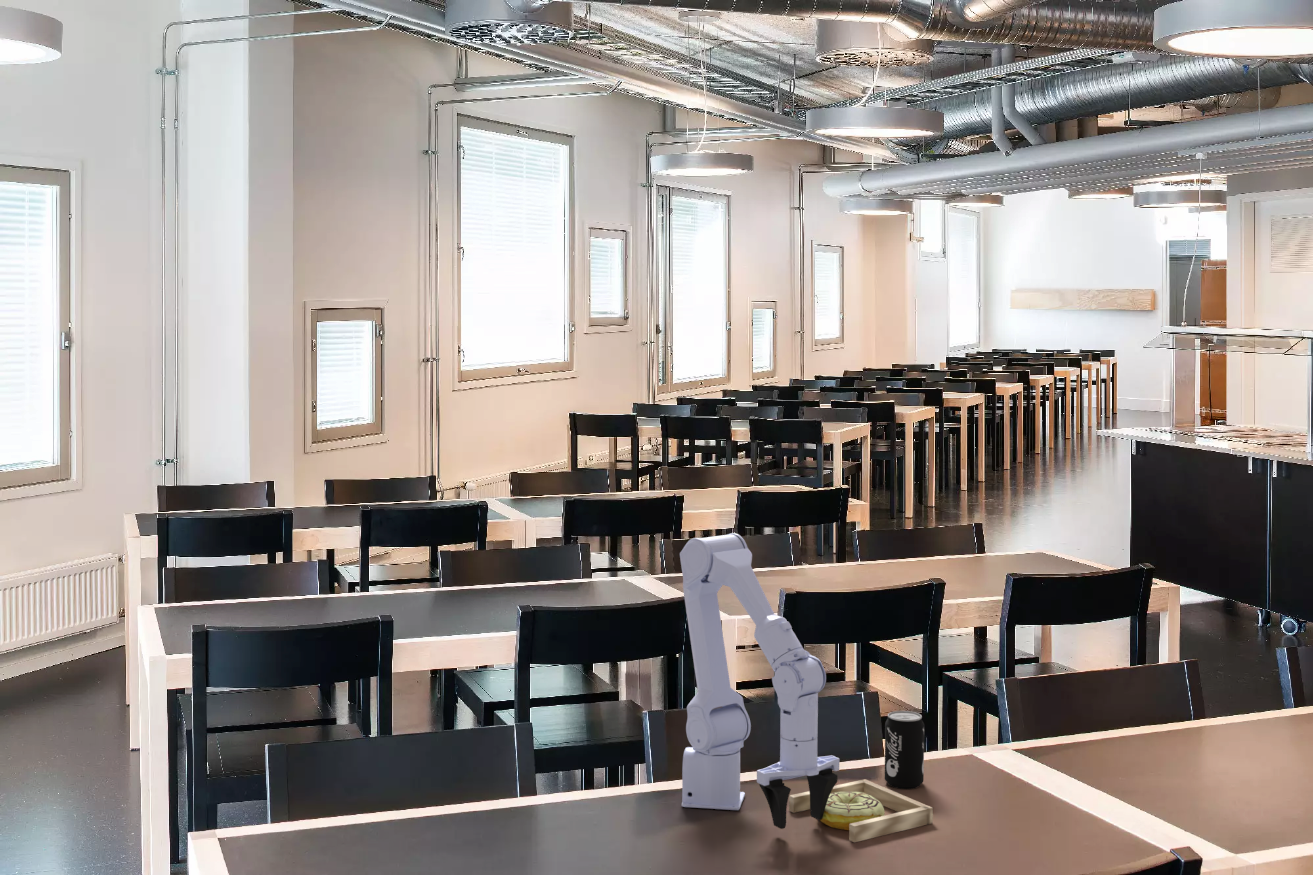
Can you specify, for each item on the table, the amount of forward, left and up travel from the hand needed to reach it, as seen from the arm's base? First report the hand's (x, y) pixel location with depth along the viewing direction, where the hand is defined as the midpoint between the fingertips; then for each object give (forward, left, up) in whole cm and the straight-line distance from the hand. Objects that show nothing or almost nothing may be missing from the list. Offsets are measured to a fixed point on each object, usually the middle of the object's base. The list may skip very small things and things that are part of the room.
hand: (798, 822), depth 212 cm
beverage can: (+16, +26, -2) cm, 31 cm away
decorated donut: (+7, +6, -2) cm, 10 cm away
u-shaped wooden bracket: (+9, +8, -1) cm, 12 cm away
